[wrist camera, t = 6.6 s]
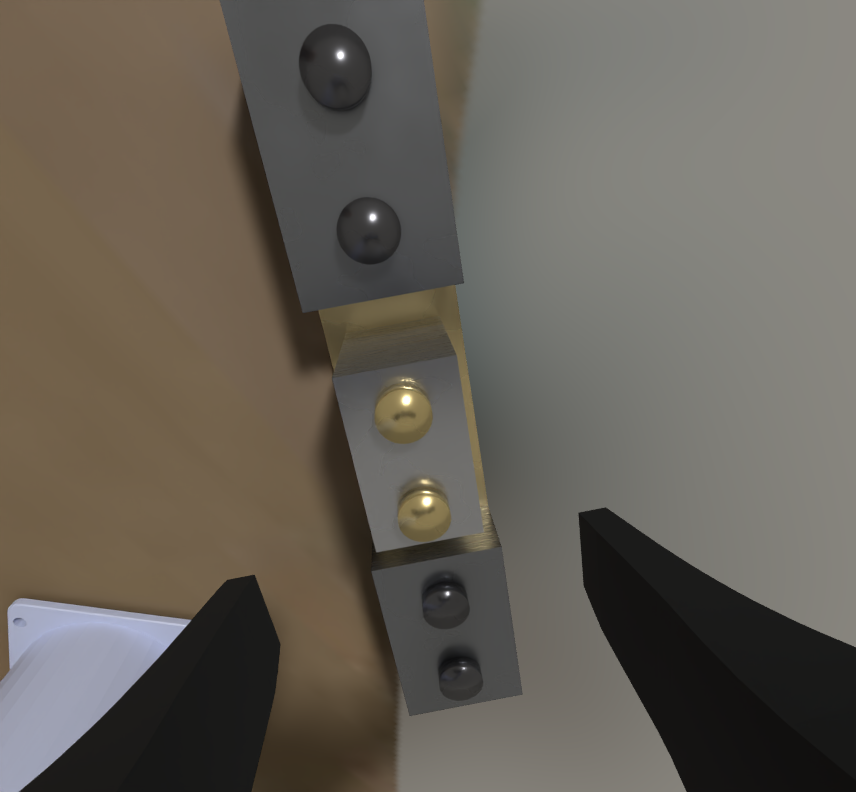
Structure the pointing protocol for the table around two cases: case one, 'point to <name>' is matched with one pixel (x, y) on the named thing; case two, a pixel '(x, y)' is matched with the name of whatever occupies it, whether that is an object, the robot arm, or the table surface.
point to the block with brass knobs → (408, 433)
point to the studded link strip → (379, 279)
